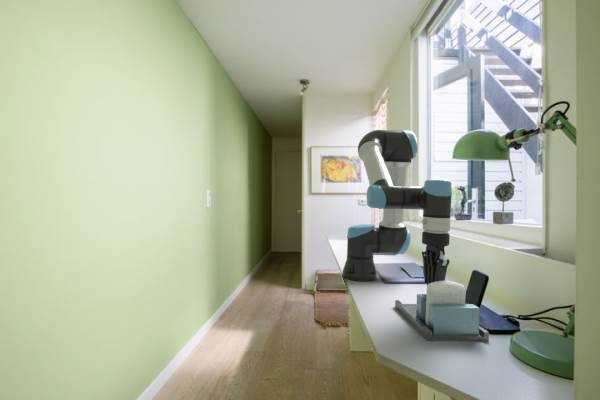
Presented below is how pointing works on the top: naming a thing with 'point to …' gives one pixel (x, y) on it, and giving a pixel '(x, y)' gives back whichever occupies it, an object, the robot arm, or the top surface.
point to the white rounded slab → (444, 294)
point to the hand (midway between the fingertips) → (432, 309)
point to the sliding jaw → (421, 307)
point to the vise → (447, 322)
